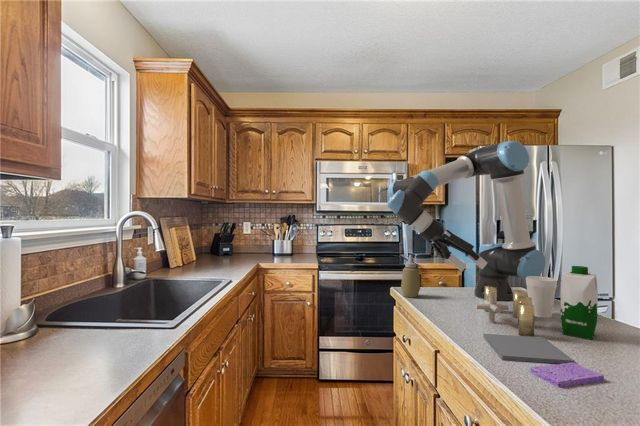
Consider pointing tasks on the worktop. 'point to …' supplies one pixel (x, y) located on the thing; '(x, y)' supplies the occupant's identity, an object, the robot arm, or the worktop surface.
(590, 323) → the milk carton
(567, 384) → the sponges
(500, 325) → the worktop surface
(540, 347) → the rubber mat
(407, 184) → the robot arm
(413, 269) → the squeeze bottle
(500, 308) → the pipe connector
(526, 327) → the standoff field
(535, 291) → the foam cup
